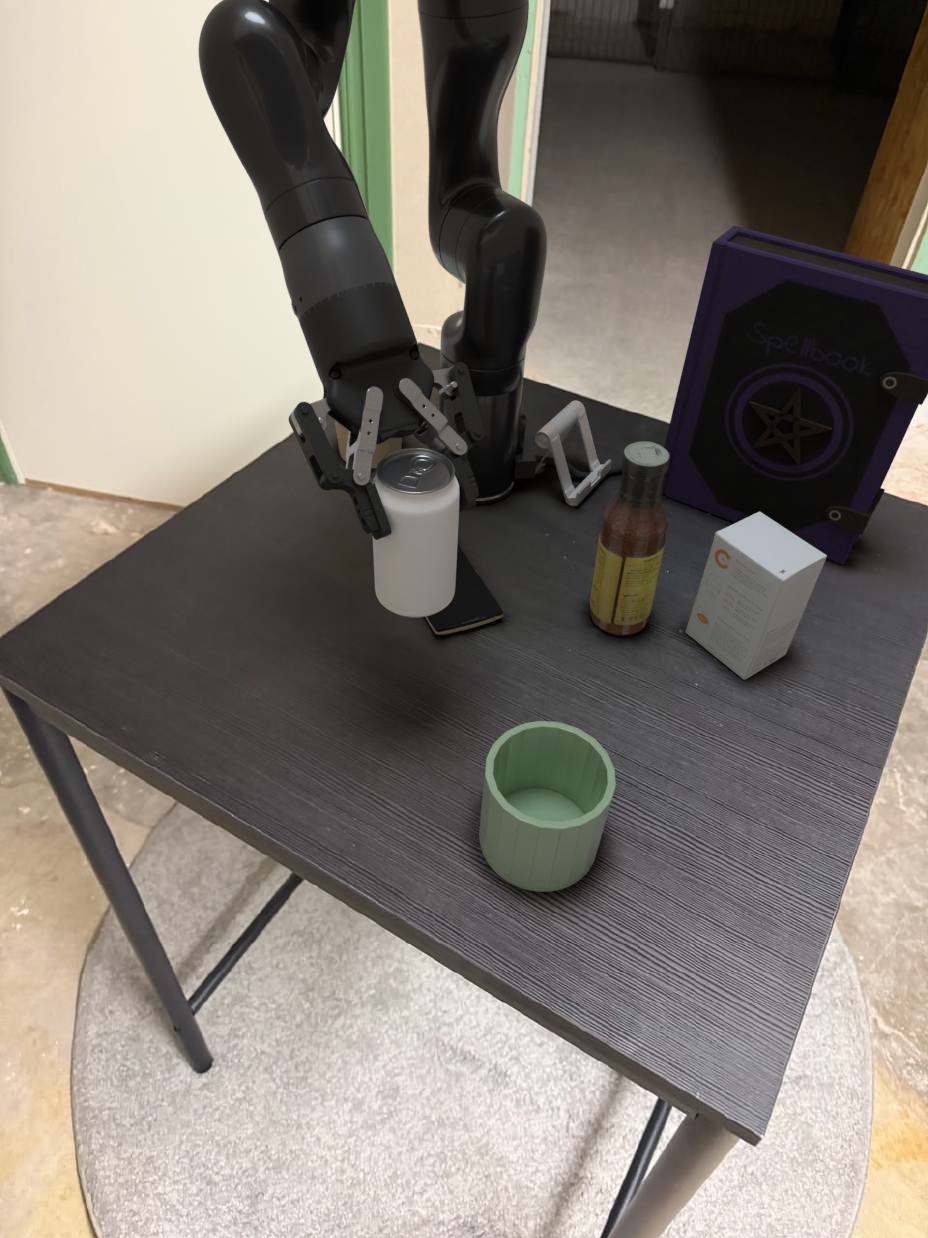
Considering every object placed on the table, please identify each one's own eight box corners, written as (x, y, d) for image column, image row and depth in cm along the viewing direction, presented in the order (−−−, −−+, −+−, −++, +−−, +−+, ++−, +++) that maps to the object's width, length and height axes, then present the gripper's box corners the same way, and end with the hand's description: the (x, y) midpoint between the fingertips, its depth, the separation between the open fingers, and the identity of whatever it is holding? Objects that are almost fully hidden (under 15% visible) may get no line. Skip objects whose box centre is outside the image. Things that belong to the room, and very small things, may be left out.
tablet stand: (577, 509, 102) (587, 448, 96) (520, 486, 105) (526, 425, 99) (610, 475, 108) (621, 415, 102) (554, 453, 110) (562, 395, 105)
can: (466, 578, 72) (473, 455, 63) (438, 629, 67) (441, 505, 59) (394, 558, 73) (391, 436, 65) (361, 608, 69) (354, 483, 60)
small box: (786, 655, 86) (830, 555, 77) (743, 682, 83) (784, 581, 74) (725, 608, 91) (760, 508, 82) (682, 632, 88) (713, 531, 79)
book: (652, 494, 105) (711, 241, 84) (673, 470, 109) (734, 223, 88) (845, 569, 96) (965, 309, 75) (861, 540, 100) (979, 285, 79)
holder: (551, 770, 75) (563, 703, 69) (621, 856, 69) (642, 791, 63) (456, 819, 71) (461, 752, 65) (523, 914, 65) (535, 850, 59)
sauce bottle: (655, 608, 90) (698, 445, 77) (637, 647, 86) (680, 482, 72) (595, 589, 92) (627, 426, 78) (575, 625, 88) (605, 461, 74)
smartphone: (447, 526, 97) (505, 613, 87) (447, 534, 98) (504, 621, 88) (385, 541, 95) (437, 631, 85) (385, 549, 95) (437, 640, 86)
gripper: (262, 300, 56) (352, 545, 57) (454, 261, 62) (532, 484, 63) (243, 342, 63) (323, 560, 64) (417, 303, 68) (487, 504, 70)
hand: (426, 522), depth 63 cm, fingers closed on can, 6 cm apart
